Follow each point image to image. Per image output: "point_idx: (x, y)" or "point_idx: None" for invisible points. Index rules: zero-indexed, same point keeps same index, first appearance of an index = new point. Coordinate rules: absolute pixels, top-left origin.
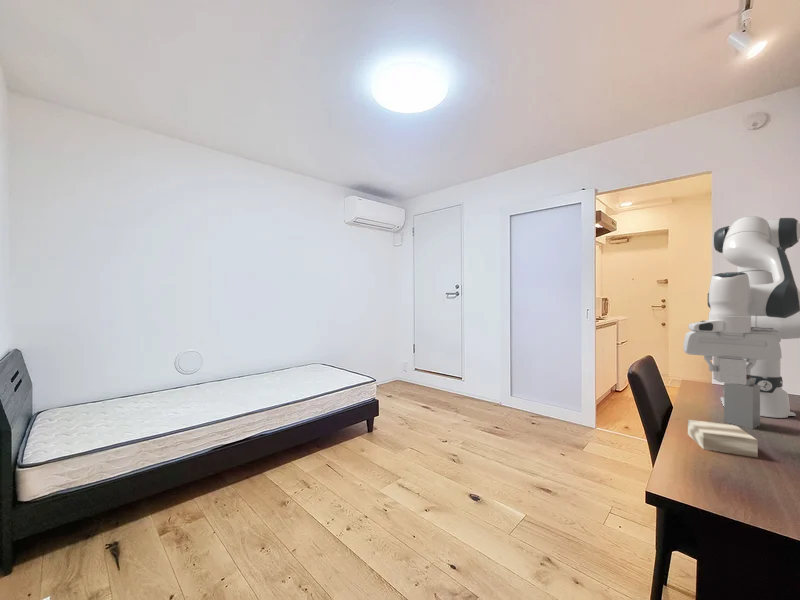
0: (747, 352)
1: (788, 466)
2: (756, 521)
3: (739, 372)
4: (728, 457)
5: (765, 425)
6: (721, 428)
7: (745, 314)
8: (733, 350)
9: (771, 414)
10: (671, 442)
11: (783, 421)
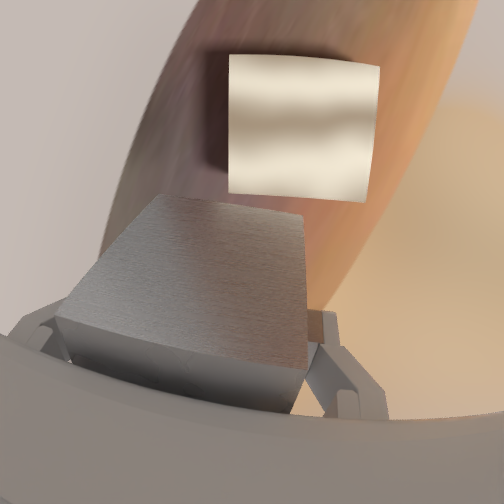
0: (5, 401)
1: (190, 30)
2: None
3: (162, 243)
4: (321, 27)
5: None
6: (295, 134)
7: None
8: (115, 466)
9: None
10: (431, 97)
11: None
